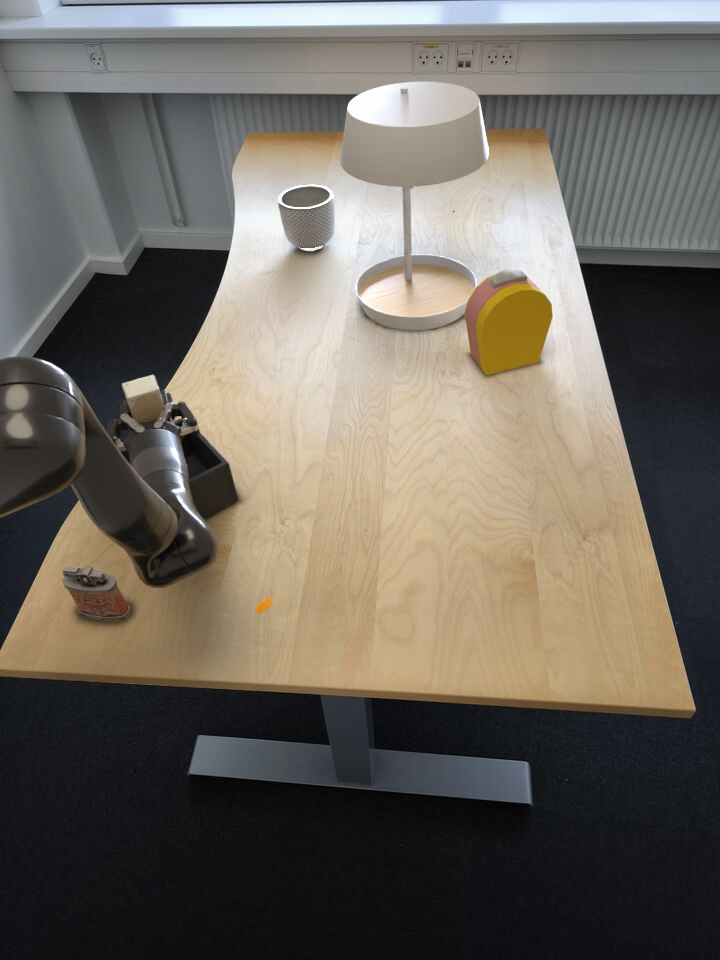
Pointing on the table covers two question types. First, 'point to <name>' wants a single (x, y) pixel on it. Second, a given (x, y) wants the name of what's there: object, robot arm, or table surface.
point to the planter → (307, 215)
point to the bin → (206, 474)
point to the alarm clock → (507, 322)
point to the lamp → (407, 163)
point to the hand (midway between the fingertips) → (145, 400)
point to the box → (144, 398)
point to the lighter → (95, 593)
